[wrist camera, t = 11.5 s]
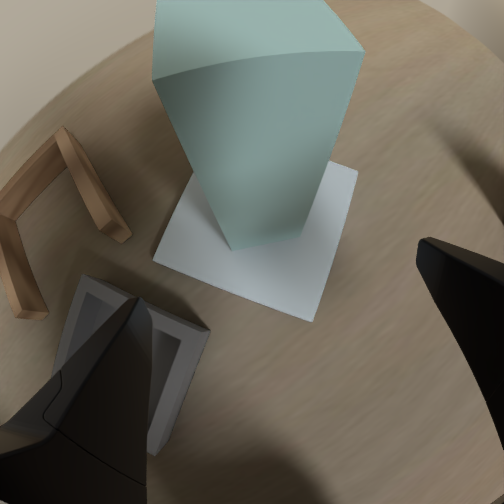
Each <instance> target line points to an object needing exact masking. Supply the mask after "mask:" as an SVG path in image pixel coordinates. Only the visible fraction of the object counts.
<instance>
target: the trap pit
mask: <svg viewBox="0 0 504 504" xmlns="http://www.w3.org/2000/svg"><path fill="white" fill-rule="evenodd" d="M134 297H135V296H133V295H131V294H129V293H127V292H125V291H123V290H121V289H119V288H117V287H115V286H113V285H112V284H110V283H108V282H106V281H104V280H101V279H98V278H95V277H91V276H88V275H85V274H82V275H81V278H80V281H79V283H78V286H77V289H76V292H75V295H74V297H73V300H72V303H71V306H70V309H69V313H68V316H67V319H66V322H65V326H64V329H63V332H62V336H61V339H60V343H59V347H58V351H57V354H56V358H55V362H54V367H53V371H52V375H51V378H52V377H53V376H54V375H55V373H56V372H57V371H58V370H59V369H61V367H62V366H63V365H64V364H65V363H66V362H67V361H68V359H69V358H70V357H71V356H72V355H73V354H74V353H75V352H76V351H77V350H78V349H79V348H80V347H81V346H82V345H83V344H84V343H85V342H86V341H87V340H88V339H89V337H90V336H91V335H92V334H93V333H94V332H95V331H96V330H97V329H98V328H99V327H100V326H101V325H102V324H103V323H104V322H105V321H106V320H107V319H108V318H109V317H110V316H111V315H112V314H113V313H114V312H115V311H116V310H117V309H118V308H119V307H120V306H121V305H122V304H123V303H124V302H125V301H126V300H127V299H129V298H134ZM144 303H145V305H146V307H147V309H148V311H149V313H150V315H151V317H152V322H153V334H152V352H153V361H152V376H151V387H150V399H149V414H148V431H147V452H148V453H150V454H152V455H154V456H156V454H157V453H158V452H159V451H160V450H161V449H162V448H163V447H164V445H165V444H166V443H167V442H168V441H169V438H170V435H171V433H172V430H173V427H174V425H175V422H176V419H177V417H178V414H179V412H180V409H181V406H182V404H183V401H184V399H185V396H186V393H187V391H188V388H189V386H190V383H191V380H192V378H193V375H194V373H195V370H196V367H197V365H198V362H199V360H200V357H201V355H202V352H203V349H204V347H205V344H206V342H207V339H208V337H209V334H210V330H208V329H206V328H203V327H201V326H198V325H196V324H194V323H192V322H189V321H187V320H185V319H182V318H180V317H178V316H176V315H173V314H171V313H169V312H167V311H165V310H163V309H160V308H158V307H156V306H154V305H152V304H150V303H148V302H146V301H144Z"/></svg>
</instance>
